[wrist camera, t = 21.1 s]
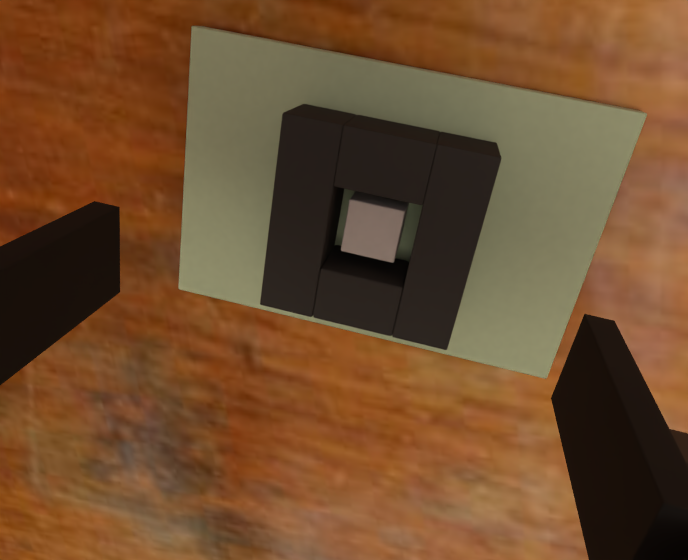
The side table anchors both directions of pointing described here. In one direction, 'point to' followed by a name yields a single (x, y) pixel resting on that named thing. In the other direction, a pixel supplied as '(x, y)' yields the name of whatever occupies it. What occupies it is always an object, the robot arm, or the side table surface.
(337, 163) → the dark square frame
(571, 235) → the base mat
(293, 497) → the side table surface
